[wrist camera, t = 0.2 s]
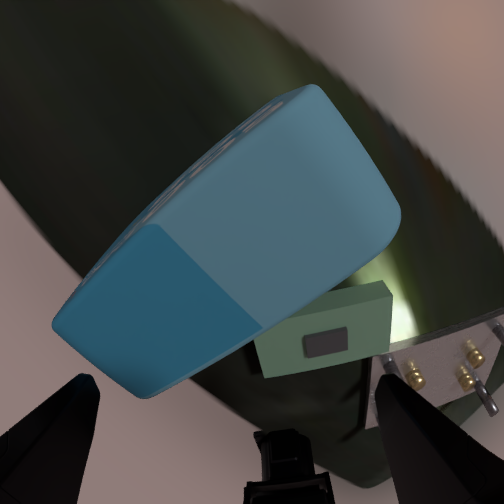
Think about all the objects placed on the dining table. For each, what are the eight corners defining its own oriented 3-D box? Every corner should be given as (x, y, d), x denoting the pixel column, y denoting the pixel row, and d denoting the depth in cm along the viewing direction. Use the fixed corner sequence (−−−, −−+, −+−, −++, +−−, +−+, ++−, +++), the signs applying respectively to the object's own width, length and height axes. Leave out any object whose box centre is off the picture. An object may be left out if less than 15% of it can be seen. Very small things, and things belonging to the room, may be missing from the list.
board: (379, 331, 25) (390, 354, 22) (263, 356, 26) (264, 381, 23) (380, 277, 23) (395, 298, 20) (249, 304, 23) (249, 328, 21)
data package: (277, 95, 17) (328, 74, 6) (324, 154, 18) (423, 226, 8) (133, 220, 20) (37, 339, 9) (179, 267, 22) (130, 412, 11)
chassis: (480, 381, 29) (500, 415, 24) (363, 422, 30) (375, 465, 25) (507, 305, 24) (539, 340, 19) (369, 349, 25) (390, 401, 20)
